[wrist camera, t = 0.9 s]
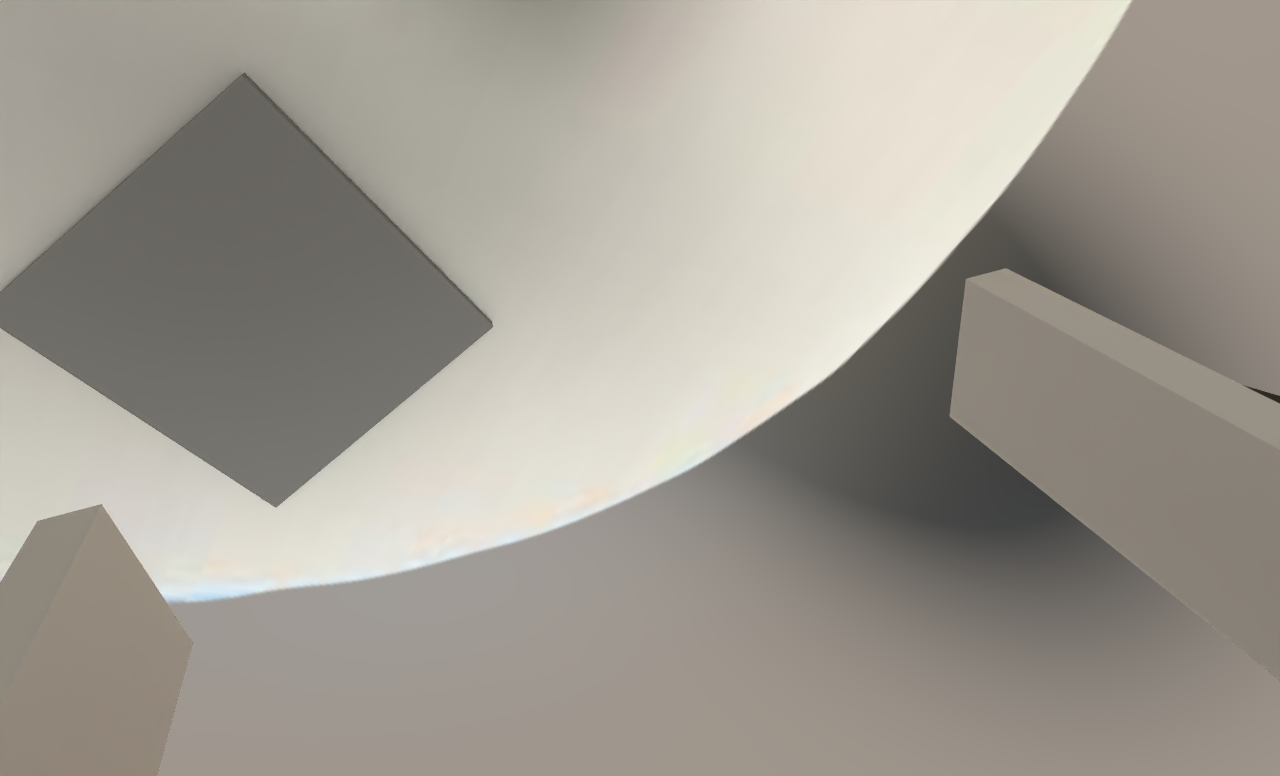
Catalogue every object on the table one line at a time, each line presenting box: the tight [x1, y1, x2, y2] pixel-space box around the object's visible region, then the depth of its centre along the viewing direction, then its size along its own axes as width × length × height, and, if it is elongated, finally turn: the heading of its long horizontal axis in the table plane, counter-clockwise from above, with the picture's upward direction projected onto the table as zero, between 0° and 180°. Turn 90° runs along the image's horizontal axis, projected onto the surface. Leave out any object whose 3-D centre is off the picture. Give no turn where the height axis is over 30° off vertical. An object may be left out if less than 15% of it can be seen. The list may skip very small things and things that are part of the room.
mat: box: [0, 73, 493, 507], centre depth 32 cm, size 14×14×1 cm
